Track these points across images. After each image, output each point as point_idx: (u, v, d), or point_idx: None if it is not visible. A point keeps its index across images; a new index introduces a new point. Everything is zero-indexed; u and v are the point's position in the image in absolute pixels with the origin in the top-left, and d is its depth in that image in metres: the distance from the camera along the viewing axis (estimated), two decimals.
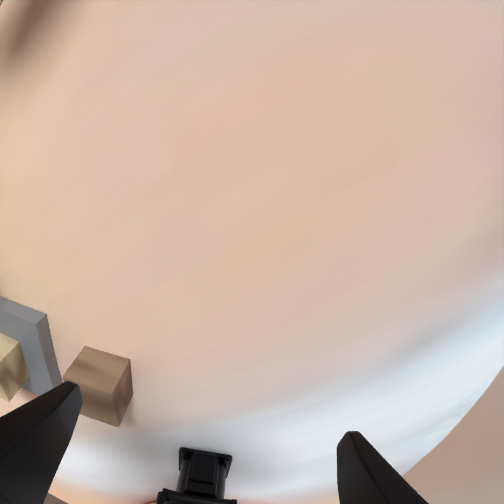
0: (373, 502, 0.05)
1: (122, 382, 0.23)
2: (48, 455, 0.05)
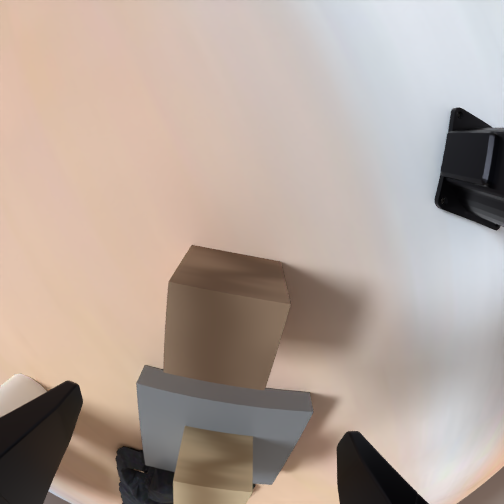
0: (373, 502, 0.05)
1: (200, 263, 0.14)
2: (48, 455, 0.05)
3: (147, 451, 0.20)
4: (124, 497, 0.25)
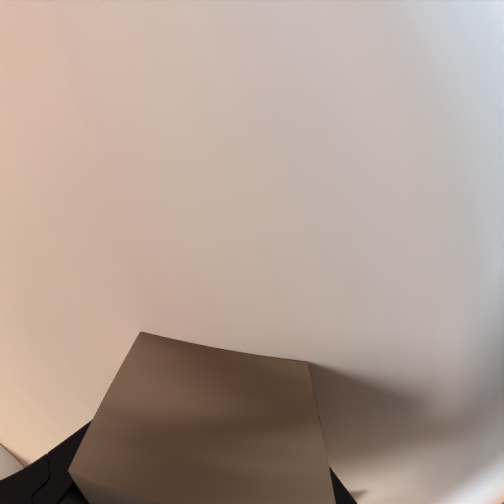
0: None
1: (145, 400, 0.06)
2: None
3: None
4: None
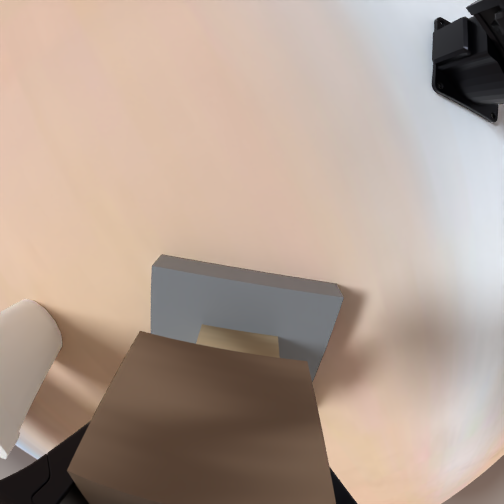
0: None
1: (144, 398, 0.06)
2: None
3: None
4: None
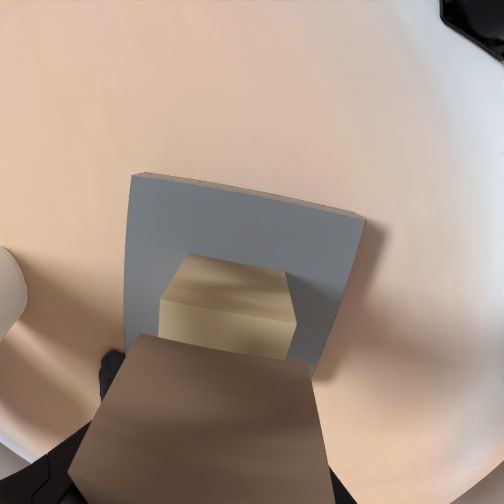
0: None
1: (145, 401, 0.06)
2: None
3: (130, 328, 0.17)
4: None
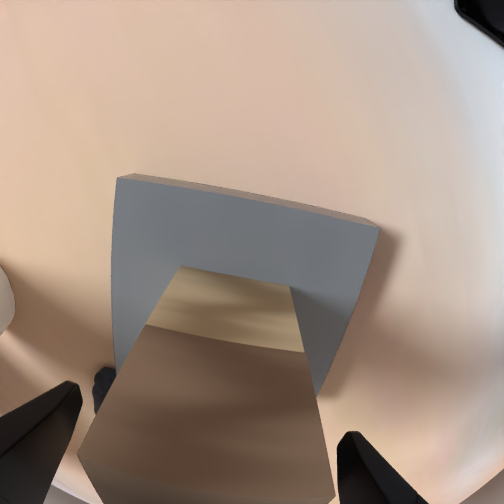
0: (373, 502, 0.05)
1: (151, 386, 0.06)
2: (48, 455, 0.05)
3: (119, 344, 0.15)
4: None
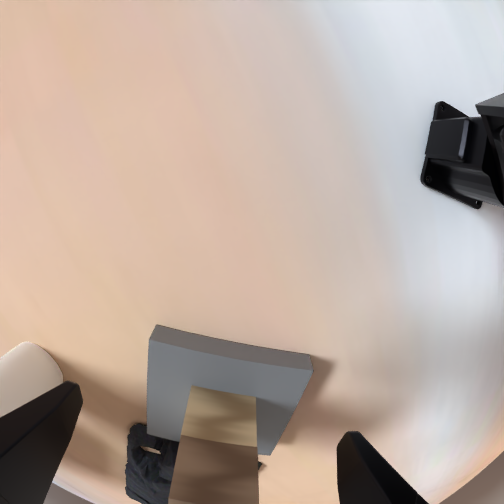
0: (373, 502, 0.05)
1: (190, 468, 0.14)
2: (48, 455, 0.05)
3: (151, 417, 0.22)
4: (129, 479, 0.28)
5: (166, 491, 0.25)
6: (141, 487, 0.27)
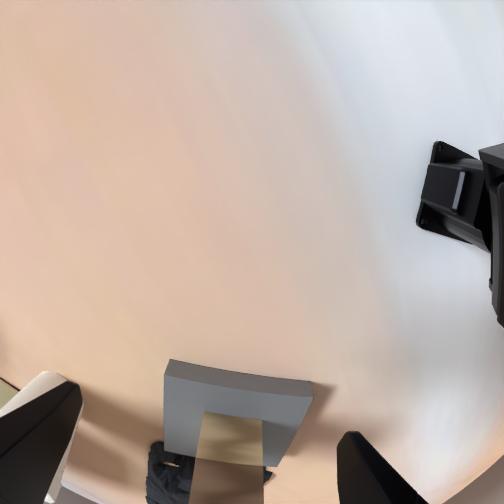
0: (373, 502, 0.05)
1: (204, 486, 0.15)
2: (48, 455, 0.05)
3: (167, 437, 0.24)
4: (150, 490, 0.30)
5: (185, 500, 0.27)
6: (161, 497, 0.29)
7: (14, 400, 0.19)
